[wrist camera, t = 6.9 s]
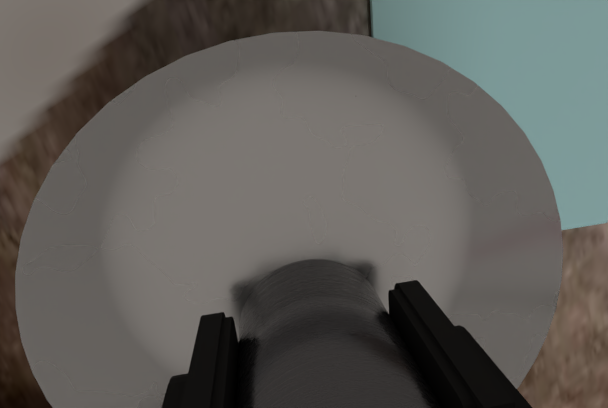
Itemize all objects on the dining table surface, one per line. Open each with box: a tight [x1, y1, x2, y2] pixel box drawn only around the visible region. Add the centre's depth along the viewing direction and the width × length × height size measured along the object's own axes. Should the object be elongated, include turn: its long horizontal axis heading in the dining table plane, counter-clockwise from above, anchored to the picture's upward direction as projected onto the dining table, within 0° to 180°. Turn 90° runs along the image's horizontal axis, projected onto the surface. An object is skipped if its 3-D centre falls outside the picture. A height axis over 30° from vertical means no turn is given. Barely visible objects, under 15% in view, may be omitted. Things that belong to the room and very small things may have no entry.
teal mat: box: [370, 0, 608, 230], centre depth 26 cm, size 18×18×1 cm
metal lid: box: [15, 31, 563, 408], centre depth 9 cm, size 15×15×6 cm
